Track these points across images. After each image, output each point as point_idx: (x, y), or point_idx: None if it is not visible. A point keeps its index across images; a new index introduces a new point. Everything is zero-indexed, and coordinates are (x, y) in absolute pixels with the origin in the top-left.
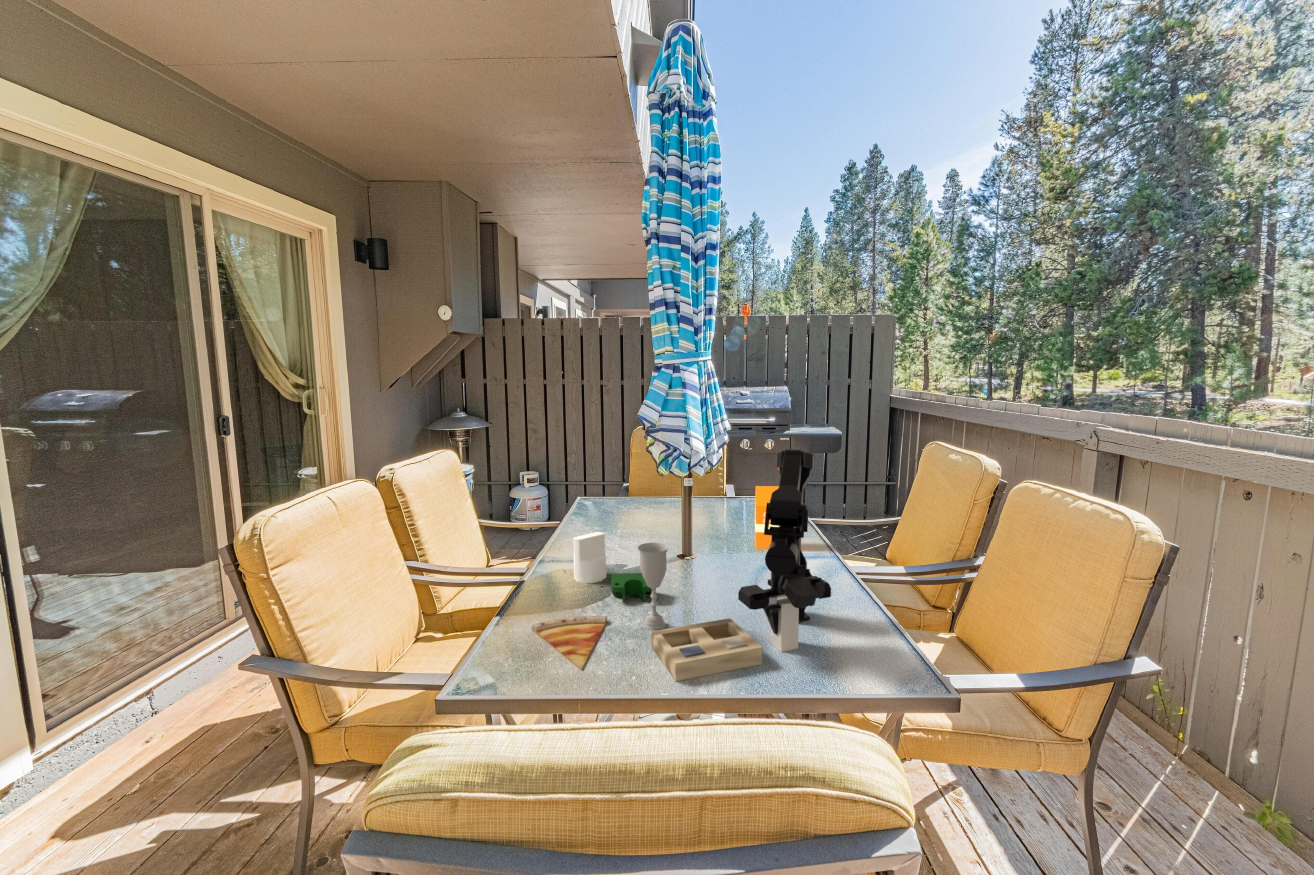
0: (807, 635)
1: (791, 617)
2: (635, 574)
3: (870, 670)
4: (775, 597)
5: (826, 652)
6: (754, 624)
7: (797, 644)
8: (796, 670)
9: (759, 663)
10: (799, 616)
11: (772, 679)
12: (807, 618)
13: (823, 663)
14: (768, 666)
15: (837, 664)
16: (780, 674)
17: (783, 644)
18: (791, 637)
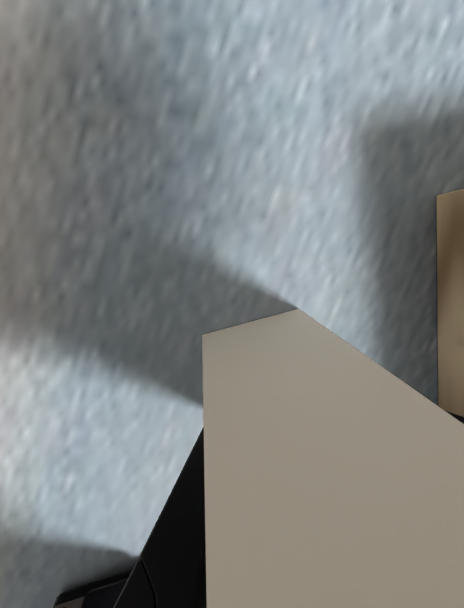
0: (112, 459)
1: (333, 499)
2: None
3: None
4: None
5: (51, 281)
6: None
7: (207, 343)
8: (294, 91)
9: (457, 190)
10: (172, 553)
11: (460, 10)
12: (69, 597)
13: (105, 149)
14: (416, 168)
15: (12, 119)
16: (396, 62)
17: (301, 323)
18: (256, 353)
